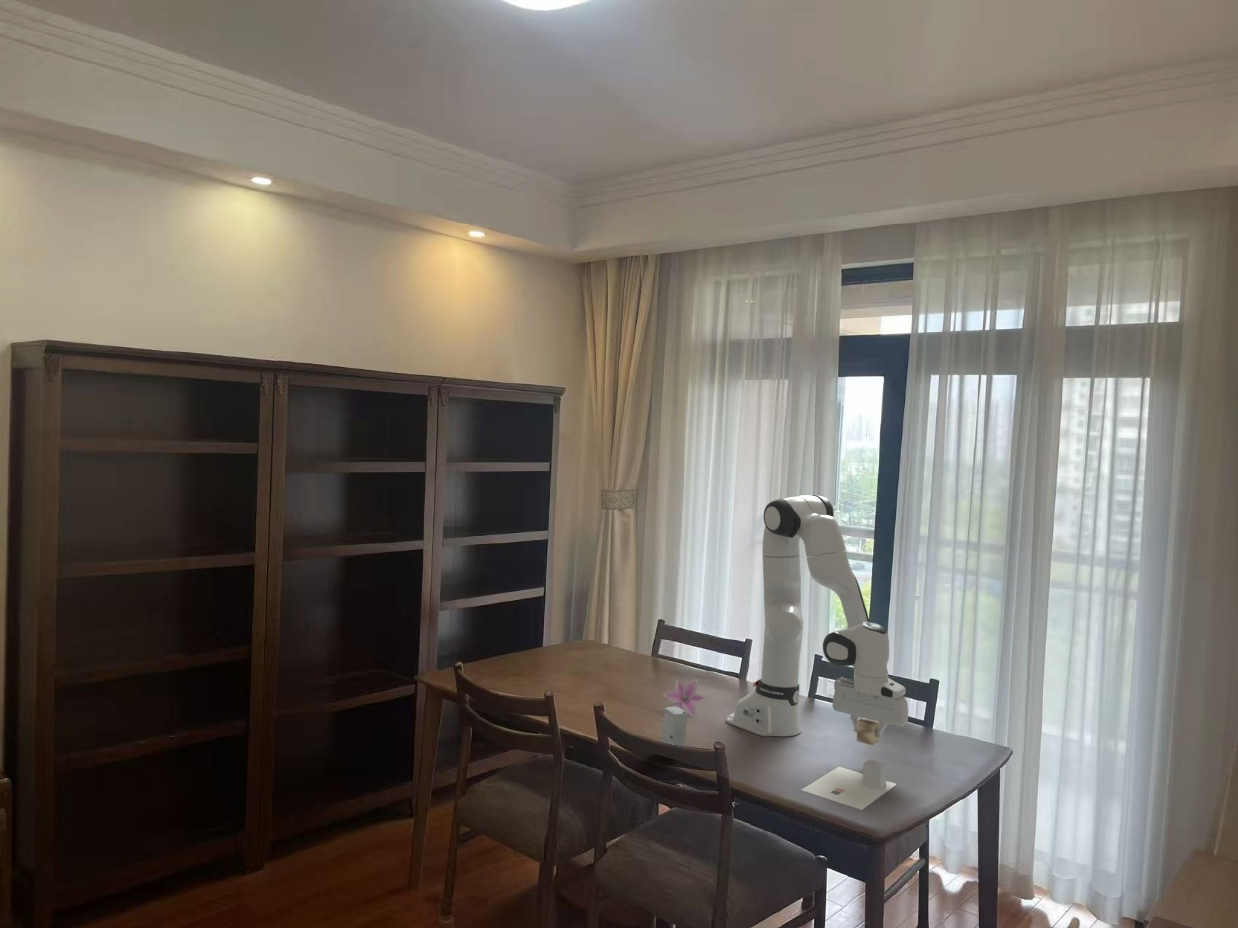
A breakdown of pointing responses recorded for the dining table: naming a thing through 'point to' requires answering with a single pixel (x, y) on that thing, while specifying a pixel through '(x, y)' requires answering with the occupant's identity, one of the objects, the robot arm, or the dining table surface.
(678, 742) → the skincare box
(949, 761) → the dining table surface
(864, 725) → the birch block
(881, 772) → the grey block
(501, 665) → the dining table surface
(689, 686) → the lily
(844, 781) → the cream flat sheet
